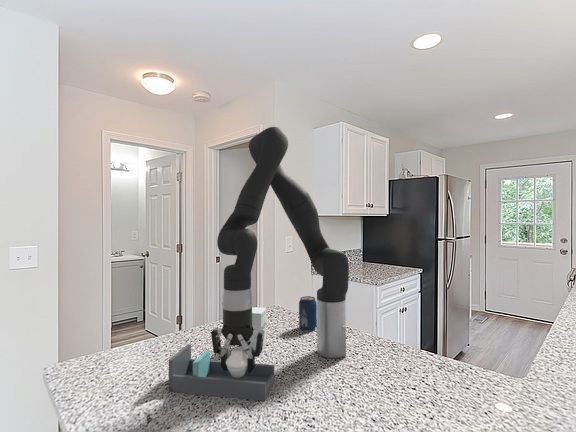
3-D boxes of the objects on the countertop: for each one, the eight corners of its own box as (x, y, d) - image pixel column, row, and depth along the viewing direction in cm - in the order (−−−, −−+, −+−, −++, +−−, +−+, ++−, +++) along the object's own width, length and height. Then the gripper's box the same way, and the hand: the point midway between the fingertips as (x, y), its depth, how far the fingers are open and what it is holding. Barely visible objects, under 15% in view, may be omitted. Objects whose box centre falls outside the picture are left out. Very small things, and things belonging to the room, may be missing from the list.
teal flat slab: (209, 372, 88) (209, 350, 88) (197, 386, 81) (197, 362, 81) (205, 371, 88) (205, 350, 88) (192, 386, 81) (192, 362, 81)
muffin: (228, 382, 79) (228, 354, 79) (223, 371, 85) (223, 345, 85) (252, 377, 81) (252, 350, 81) (246, 367, 87) (246, 341, 87)
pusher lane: (274, 379, 86) (274, 350, 86) (265, 400, 76) (265, 367, 76) (187, 372, 91) (187, 344, 91) (168, 391, 81) (168, 359, 81)
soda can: (315, 325, 129) (315, 295, 130) (317, 331, 123) (317, 300, 123) (298, 325, 129) (298, 296, 129) (299, 331, 122) (299, 300, 122)
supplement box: (261, 352, 104) (260, 313, 104) (239, 351, 105) (239, 312, 105) (267, 344, 111) (267, 307, 111) (246, 342, 112) (246, 306, 112)
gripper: (268, 302, 85) (268, 365, 85) (216, 300, 88) (217, 361, 88) (260, 310, 78) (261, 380, 78) (205, 308, 81) (205, 375, 80)
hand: (237, 370), depth 83 cm, fingers closed on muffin, 6 cm apart
